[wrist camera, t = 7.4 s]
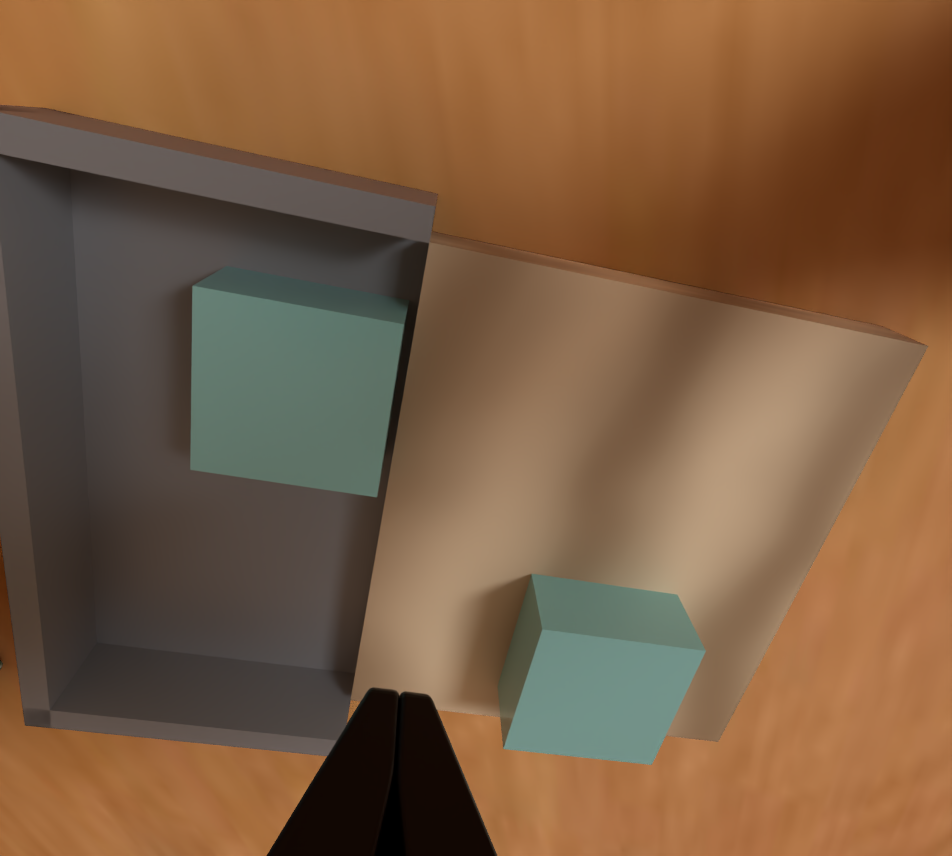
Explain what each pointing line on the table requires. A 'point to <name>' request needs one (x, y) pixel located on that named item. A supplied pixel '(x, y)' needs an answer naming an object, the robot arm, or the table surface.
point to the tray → (173, 437)
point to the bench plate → (611, 464)
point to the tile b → (596, 670)
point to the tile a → (293, 380)
